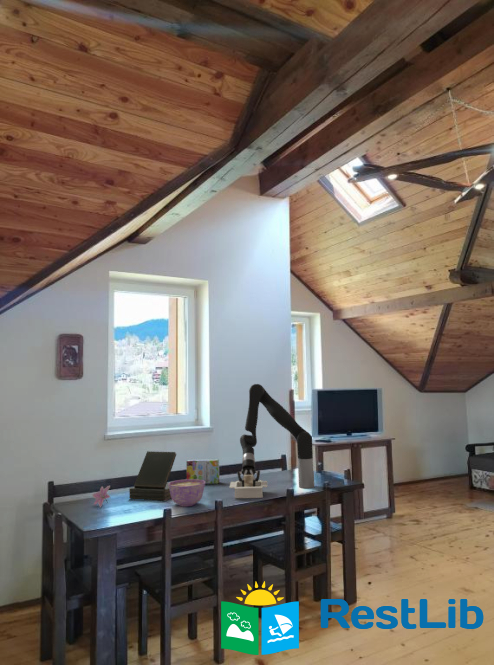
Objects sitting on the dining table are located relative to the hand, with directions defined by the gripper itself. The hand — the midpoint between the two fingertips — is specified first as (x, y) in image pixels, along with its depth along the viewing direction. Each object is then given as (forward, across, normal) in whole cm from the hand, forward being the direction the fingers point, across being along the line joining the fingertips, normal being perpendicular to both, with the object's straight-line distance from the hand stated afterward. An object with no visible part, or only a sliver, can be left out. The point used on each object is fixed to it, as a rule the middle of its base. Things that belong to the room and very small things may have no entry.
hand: (248, 486), depth 274 cm
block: (+2, 0, +5) cm, 5 cm away
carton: (+2, 0, +5) cm, 5 cm away
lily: (+13, -81, -6) cm, 82 cm away
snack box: (-25, -31, +32) cm, 51 cm away
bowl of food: (+16, -33, -9) cm, 38 cm away
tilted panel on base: (+1, -55, +7) cm, 55 cm away
